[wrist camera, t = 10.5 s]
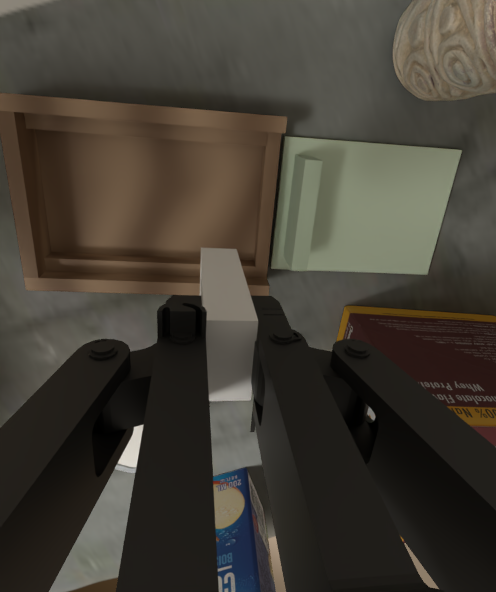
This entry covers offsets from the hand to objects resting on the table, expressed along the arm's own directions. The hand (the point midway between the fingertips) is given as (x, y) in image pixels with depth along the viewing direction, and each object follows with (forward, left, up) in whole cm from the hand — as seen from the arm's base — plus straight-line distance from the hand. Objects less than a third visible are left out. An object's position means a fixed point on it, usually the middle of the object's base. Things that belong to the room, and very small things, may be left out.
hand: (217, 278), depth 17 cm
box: (-4, 0, -16) cm, 16 cm away
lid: (+12, 0, -16) cm, 20 cm away
